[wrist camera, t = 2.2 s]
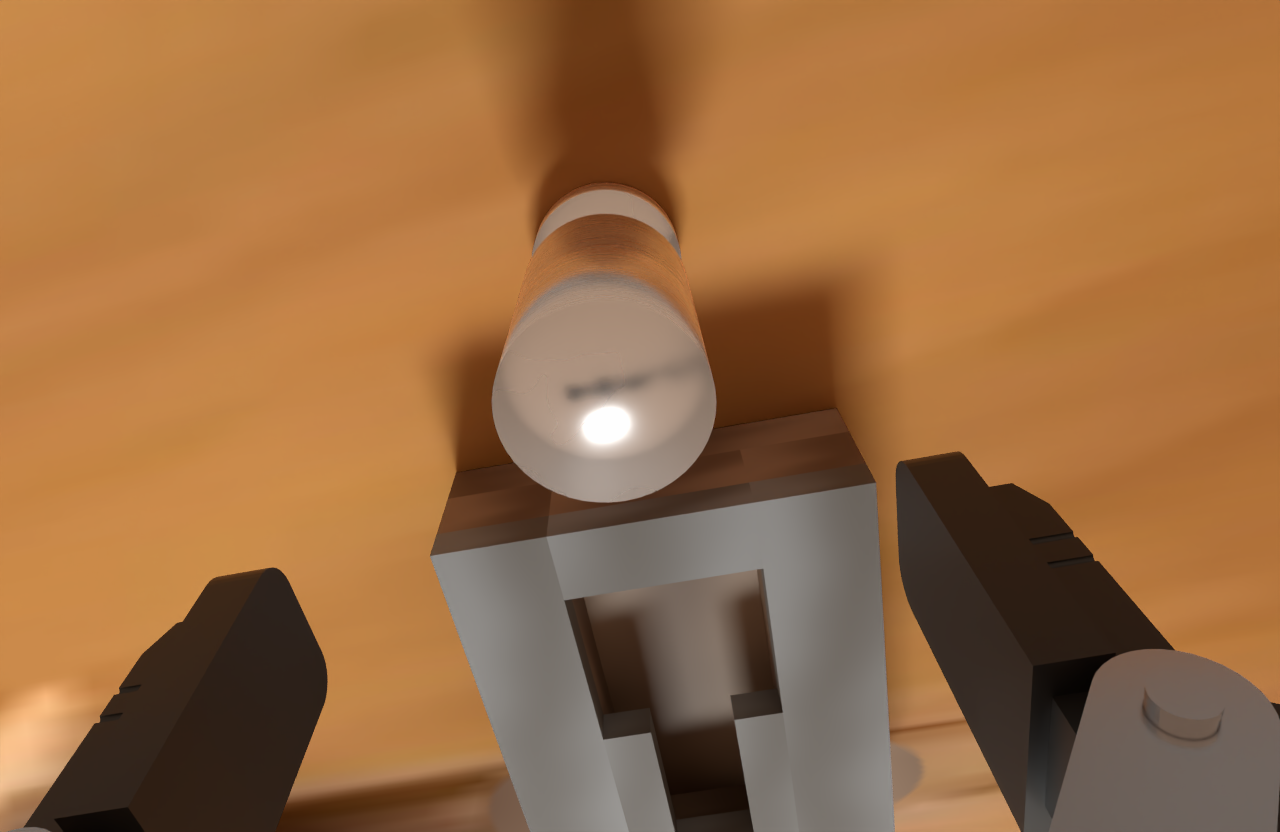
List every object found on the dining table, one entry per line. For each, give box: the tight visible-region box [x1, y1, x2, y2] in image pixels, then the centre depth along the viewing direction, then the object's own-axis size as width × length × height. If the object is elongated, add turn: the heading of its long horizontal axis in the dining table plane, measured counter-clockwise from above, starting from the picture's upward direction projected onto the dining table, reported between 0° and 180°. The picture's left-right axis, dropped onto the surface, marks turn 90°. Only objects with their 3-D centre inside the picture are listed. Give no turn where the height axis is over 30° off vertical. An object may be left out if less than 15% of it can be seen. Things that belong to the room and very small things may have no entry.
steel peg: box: [492, 182, 716, 502], centre depth 19 cm, size 4×4×9 cm
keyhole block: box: [430, 408, 895, 832], centre depth 28 cm, size 12×18×4 cm, turn 10°
